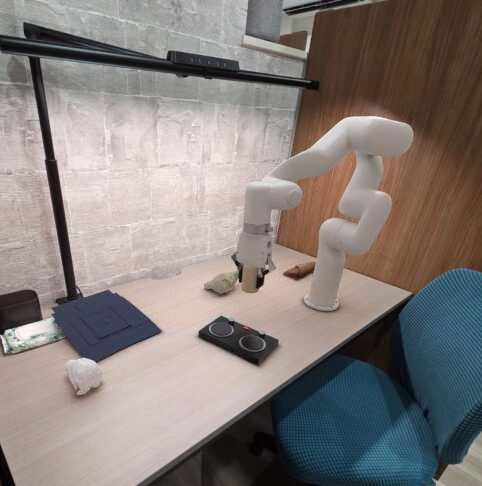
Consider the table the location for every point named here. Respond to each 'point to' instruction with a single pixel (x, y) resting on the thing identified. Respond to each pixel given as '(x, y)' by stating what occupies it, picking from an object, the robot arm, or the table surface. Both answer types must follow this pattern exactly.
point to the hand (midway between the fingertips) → (250, 283)
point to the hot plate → (239, 339)
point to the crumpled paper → (84, 374)
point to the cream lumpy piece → (223, 282)
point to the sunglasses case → (300, 270)
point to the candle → (249, 278)
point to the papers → (102, 324)
